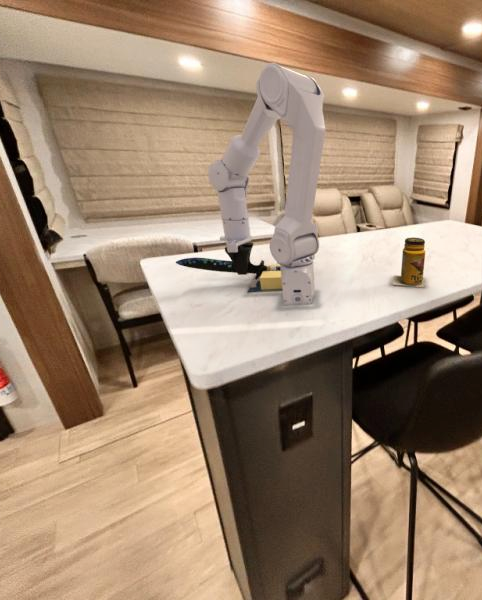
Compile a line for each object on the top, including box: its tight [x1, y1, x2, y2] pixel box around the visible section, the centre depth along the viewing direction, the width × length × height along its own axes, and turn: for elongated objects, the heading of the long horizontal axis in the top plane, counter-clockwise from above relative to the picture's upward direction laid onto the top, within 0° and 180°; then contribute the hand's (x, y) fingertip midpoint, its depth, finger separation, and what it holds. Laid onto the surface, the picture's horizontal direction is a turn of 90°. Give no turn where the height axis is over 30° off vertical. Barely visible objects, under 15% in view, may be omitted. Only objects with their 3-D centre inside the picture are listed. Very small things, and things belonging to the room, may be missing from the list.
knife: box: [175, 257, 281, 280], centre depth 78 cm, size 31×3×4 cm, turn 100°
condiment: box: [392, 237, 426, 288], centre depth 83 cm, size 7×8×12 cm
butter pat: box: [265, 263, 280, 266], centre depth 83 cm, size 2×6×3 cm, turn 102°
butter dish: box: [246, 275, 283, 294], centre depth 80 cm, size 14×12×1 cm
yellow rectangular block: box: [260, 271, 282, 290], centre depth 76 cm, size 5×6×3 cm
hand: (243, 273), depth 79 cm, fingers closed on knife
